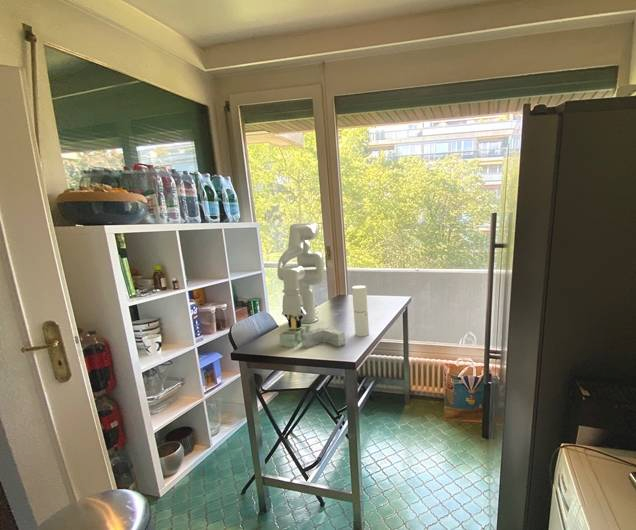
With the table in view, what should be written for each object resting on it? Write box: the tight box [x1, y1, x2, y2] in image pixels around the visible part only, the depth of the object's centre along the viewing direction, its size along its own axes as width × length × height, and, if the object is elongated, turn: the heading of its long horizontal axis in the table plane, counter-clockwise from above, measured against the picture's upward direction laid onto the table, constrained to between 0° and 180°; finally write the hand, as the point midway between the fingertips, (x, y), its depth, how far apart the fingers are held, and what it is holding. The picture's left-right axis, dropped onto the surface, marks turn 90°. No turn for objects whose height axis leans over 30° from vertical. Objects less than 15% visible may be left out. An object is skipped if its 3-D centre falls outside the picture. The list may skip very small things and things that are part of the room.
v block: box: [301, 327, 346, 349], centre depth 164 cm, size 11×21×6 cm, turn 84°
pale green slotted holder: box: [278, 323, 312, 348], centre depth 171 cm, size 18×8×6 cm, turn 154°
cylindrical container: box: [351, 285, 370, 337], centre depth 172 cm, size 7×7×25 cm
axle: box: [290, 315, 299, 331], centre depth 171 cm, size 4×4×13 cm
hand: (295, 326), depth 170 cm, fingers closed on axle, 4 cm apart
